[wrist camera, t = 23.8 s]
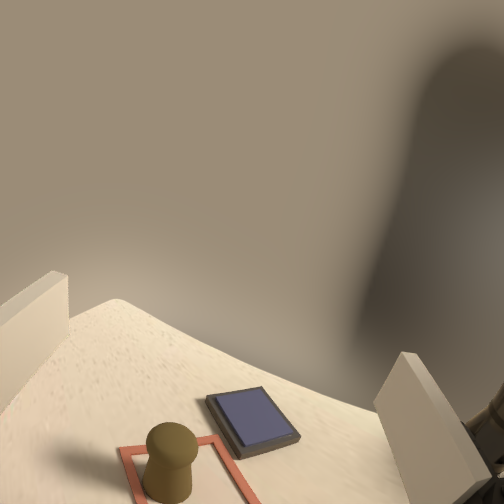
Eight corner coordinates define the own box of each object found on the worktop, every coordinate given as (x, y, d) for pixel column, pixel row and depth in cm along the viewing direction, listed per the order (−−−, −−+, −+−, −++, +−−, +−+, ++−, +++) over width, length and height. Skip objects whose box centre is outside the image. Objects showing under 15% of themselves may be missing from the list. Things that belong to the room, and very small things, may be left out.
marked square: (265, 513, 28) (266, 512, 28) (152, 542, 20) (152, 541, 20) (217, 435, 39) (217, 434, 39) (119, 448, 32) (119, 447, 32)
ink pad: (298, 442, 41) (302, 434, 40) (239, 460, 35) (242, 452, 35) (259, 392, 50) (262, 384, 50) (205, 401, 45) (207, 393, 45)
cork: (132, 475, 28) (130, 424, 25) (172, 458, 33) (179, 406, 30) (162, 512, 25) (166, 470, 21) (202, 491, 29) (217, 444, 26)
